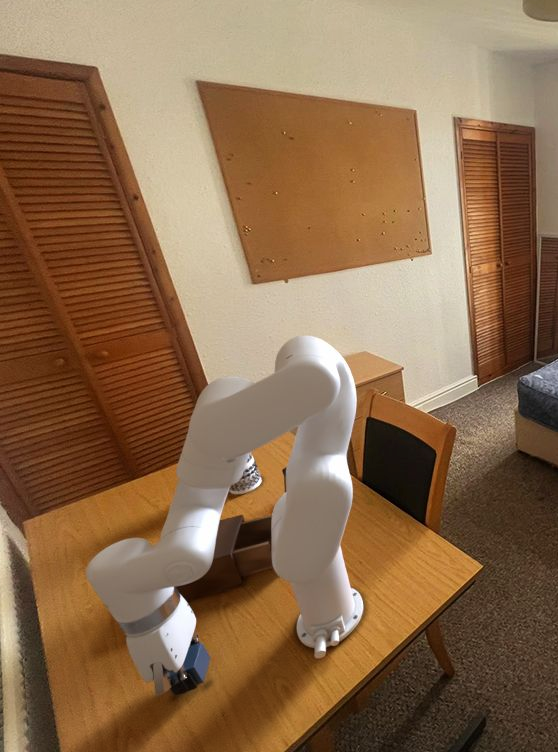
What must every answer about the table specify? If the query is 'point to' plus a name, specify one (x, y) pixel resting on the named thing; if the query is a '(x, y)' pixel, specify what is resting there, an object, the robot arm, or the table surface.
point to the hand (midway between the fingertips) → (191, 673)
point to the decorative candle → (247, 478)
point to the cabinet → (218, 564)
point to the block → (196, 662)
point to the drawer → (254, 546)
